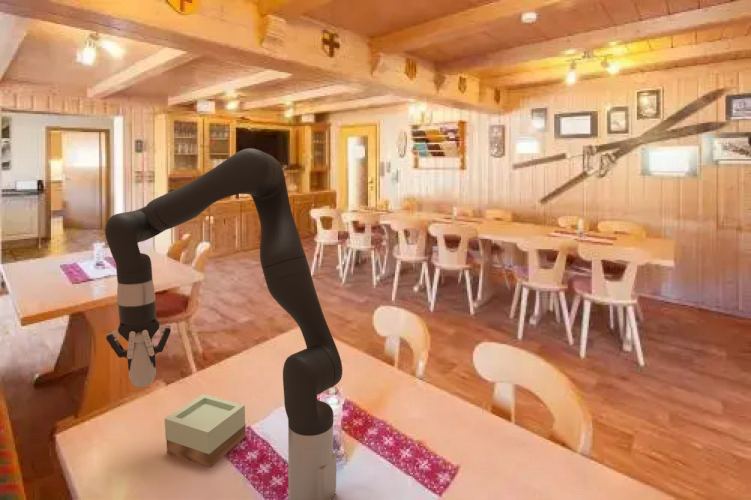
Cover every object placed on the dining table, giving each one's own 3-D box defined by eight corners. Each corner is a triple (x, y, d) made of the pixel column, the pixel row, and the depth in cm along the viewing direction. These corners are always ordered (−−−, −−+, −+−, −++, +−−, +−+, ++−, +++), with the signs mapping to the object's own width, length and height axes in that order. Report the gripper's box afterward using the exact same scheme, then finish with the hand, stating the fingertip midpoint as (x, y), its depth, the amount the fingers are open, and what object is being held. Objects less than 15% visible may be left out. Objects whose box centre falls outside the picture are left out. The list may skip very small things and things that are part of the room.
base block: (245, 438, 119) (245, 424, 118) (210, 469, 107) (209, 453, 106) (205, 425, 123) (204, 412, 123) (167, 454, 112) (166, 439, 111)
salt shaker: (145, 390, 106) (141, 336, 103) (123, 387, 107) (118, 333, 104) (162, 378, 111) (158, 327, 109) (140, 375, 112) (136, 325, 110)
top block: (245, 424, 118) (244, 405, 117) (208, 454, 106) (208, 432, 105) (204, 412, 123) (203, 393, 121) (165, 439, 111) (164, 418, 110)
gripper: (170, 292, 111) (175, 359, 114) (103, 298, 106) (110, 368, 109) (170, 301, 104) (175, 372, 108) (98, 308, 99) (106, 383, 102)
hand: (142, 370), depth 108 cm, fingers closed on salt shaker, 3 cm apart
